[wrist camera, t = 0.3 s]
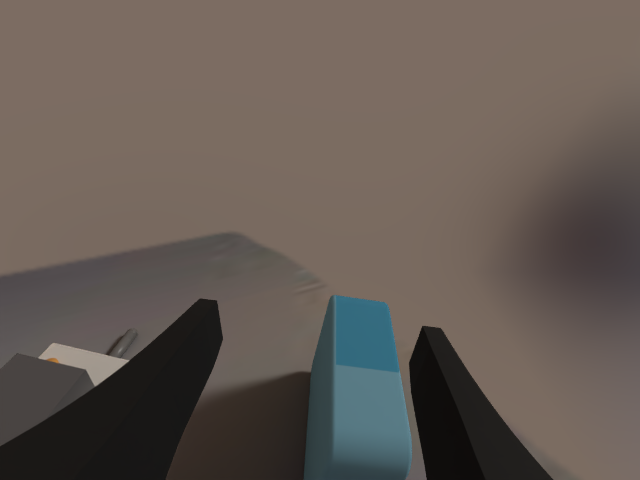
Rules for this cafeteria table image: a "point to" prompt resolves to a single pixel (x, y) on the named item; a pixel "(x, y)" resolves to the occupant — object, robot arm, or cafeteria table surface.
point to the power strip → (51, 383)
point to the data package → (357, 397)
